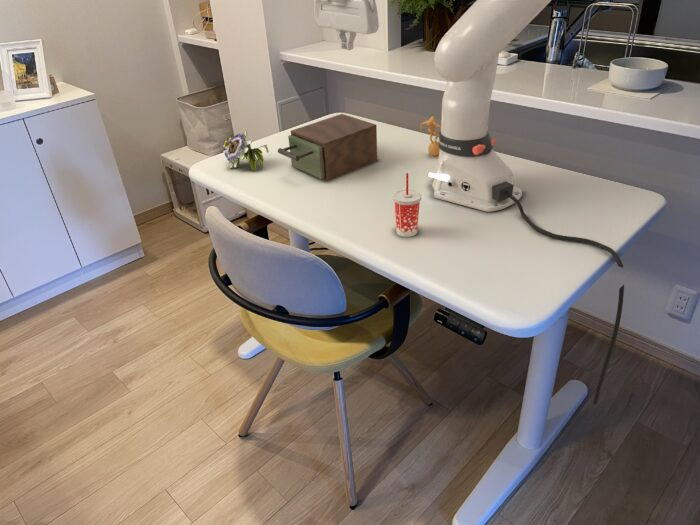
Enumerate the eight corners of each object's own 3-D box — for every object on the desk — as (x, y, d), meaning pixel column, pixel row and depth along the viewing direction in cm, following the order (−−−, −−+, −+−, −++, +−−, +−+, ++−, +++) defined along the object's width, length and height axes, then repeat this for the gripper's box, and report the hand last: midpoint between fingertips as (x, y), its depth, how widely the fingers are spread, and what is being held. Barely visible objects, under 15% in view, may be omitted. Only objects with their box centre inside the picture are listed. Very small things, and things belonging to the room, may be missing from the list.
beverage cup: (426, 230, 122) (428, 172, 114) (409, 241, 118) (409, 182, 110) (404, 222, 125) (404, 165, 118) (387, 232, 122) (386, 174, 114)
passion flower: (236, 185, 160) (212, 150, 158) (265, 167, 165) (241, 133, 163) (248, 174, 150) (222, 137, 148) (278, 156, 155) (253, 119, 153)
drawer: (304, 186, 142) (301, 154, 137) (275, 172, 151) (270, 141, 146) (369, 159, 154) (368, 129, 150) (338, 148, 163) (337, 119, 158)
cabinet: (327, 181, 146) (324, 143, 140) (294, 166, 155) (290, 130, 150) (377, 160, 156) (376, 124, 150) (344, 148, 165) (341, 113, 159)
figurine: (451, 155, 156) (453, 114, 149) (440, 163, 152) (442, 121, 146) (426, 150, 160) (427, 109, 154) (415, 157, 157) (415, 116, 150)
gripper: (384, -12, 125) (385, 52, 132) (327, -16, 138) (331, 41, 146) (363, -8, 122) (365, 57, 129) (307, -13, 135) (312, 46, 142)
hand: (347, 49), depth 138 cm, fingers closed
